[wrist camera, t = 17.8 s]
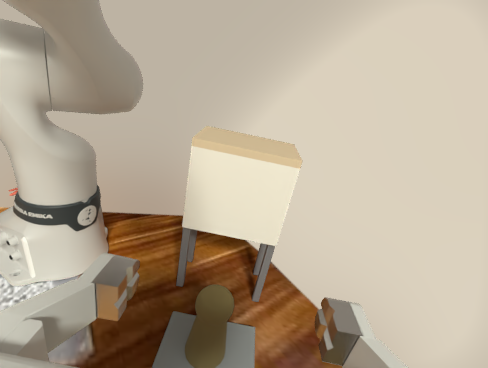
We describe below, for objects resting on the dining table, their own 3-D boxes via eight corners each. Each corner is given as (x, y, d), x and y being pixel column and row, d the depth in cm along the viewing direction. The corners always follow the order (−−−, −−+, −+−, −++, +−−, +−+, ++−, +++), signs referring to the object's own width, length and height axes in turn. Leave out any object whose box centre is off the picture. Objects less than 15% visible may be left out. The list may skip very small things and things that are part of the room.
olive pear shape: (189, 326, 40) (198, 274, 35) (226, 332, 40) (240, 281, 36) (180, 367, 34) (189, 311, 30) (223, 373, 34) (238, 318, 30)
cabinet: (258, 305, 47) (302, 160, 36) (174, 289, 47) (192, 137, 35) (258, 268, 56) (294, 144, 45) (188, 254, 56) (206, 125, 44)
